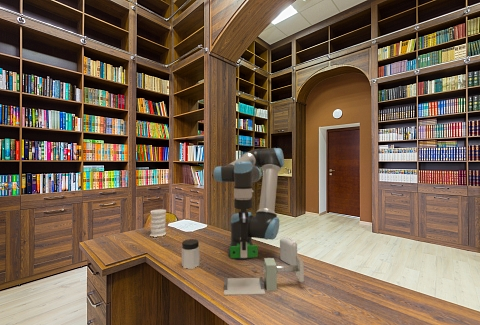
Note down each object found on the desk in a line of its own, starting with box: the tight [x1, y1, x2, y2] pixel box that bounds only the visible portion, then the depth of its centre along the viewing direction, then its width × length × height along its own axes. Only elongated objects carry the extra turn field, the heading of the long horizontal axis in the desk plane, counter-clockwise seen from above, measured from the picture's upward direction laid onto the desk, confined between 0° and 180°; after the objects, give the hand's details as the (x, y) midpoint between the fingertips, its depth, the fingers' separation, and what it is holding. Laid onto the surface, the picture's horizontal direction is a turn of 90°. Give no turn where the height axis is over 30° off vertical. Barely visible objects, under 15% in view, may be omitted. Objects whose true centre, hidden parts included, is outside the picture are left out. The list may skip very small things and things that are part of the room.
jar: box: [181, 238, 200, 270], centre depth 110 cm, size 9×8×12 cm
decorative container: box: [149, 208, 167, 237], centre depth 158 cm, size 12×12×18 cm
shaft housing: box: [263, 257, 278, 292], centre depth 91 cm, size 7×4×10 cm, turn 1°
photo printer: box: [279, 236, 298, 265], centre depth 113 cm, size 10×4×12 cm, turn 29°
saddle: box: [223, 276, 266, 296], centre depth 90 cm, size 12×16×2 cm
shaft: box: [262, 255, 305, 283], centre depth 91 cm, size 6×16×8 cm, turn 91°
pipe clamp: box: [229, 243, 259, 259], centre depth 91 cm, size 11×4×5 cm, turn 94°
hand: (243, 255), depth 91 cm, fingers closed on pipe clamp, 4 cm apart
